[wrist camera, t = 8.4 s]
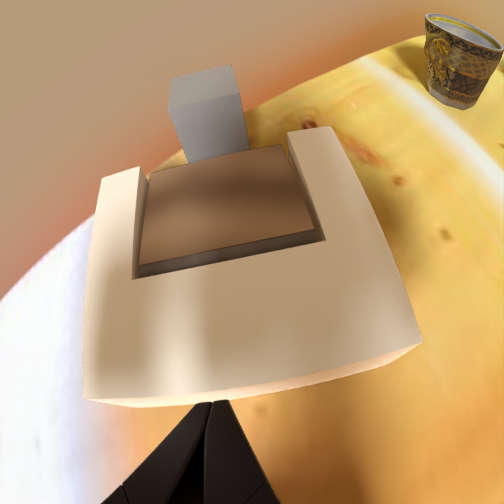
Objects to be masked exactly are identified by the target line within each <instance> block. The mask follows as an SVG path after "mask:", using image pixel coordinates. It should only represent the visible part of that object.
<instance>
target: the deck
mask: <svg viewBox="0 0 504 504" xmlns="http://www.w3.org/2000/svg"><path fill="white" fill-rule="evenodd" d="M287 138H288V153H289V164H290V166H291V169H292V171H293V174H294V176H295V179H296V181H297V184H298V187H299V189H300V192H301V194H302V197H303V200H304V202H305V205H306V208H307V210H308V213H309V216H310V218H311V221H312V224H313V227H314V230H315V232H316V236H317V243H312V244H307V245H302V246H297V247H292V248H287V249H283V250H278V251H273V252H268V253H263V254H258V255H253V256H248V257H243V258H239V259H234V260H229V261H224V262H219V263H214V264H209V265H204V266H199V267H194V268H189V269H184V270H179V271H174V272H169V273H165V274H160V275H155V276H150V277H145V278H140V276H139V271H138V269H139V259H140V249H141V241H142V233H143V225H144V218H145V211H146V204H147V197H148V191H149V185H150V184H149V182H148V180H147V178H146V176H145V175H144V173H143V171H142V169H141V167H140V166H139V167H135V168H132V169H129V170H126V171H122V172H119V173H116V174H113V175H110V176H107V177H104V178H102V181H101V186H100V191H99V196H98V202H97V207H96V212H95V218H94V224H93V231H92V237H91V244H90V252H89V260H88V269H87V279H86V290H85V303H84V321H83V395H84V399H88V400H93V401H99V402H104V403H110V404H116V405H123V406H130V407H137V408H140V407H160V406H175V405H187V404H197V403H199V402H207V401H211V402H213V401H216V400H223V399H228V400H231V399H238V398H245V397H251V396H257V395H263V394H269V393H274V392H280V391H285V390H290V389H295V388H300V387H304V386H309V385H313V384H318V383H322V382H326V381H330V380H334V379H338V378H342V377H346V376H350V375H353V374H357V373H361V372H364V371H368V370H371V369H374V368H378V367H381V366H384V365H387V364H389V363H391V362H392V361H394V360H396V359H397V358H399V357H400V356H402V355H403V354H405V353H407V352H408V351H410V350H411V349H413V348H414V347H416V346H417V345H419V344H420V343H422V342H423V340H422V337H421V333H420V330H419V327H418V324H417V321H416V318H415V315H414V312H413V309H412V306H411V303H410V300H409V297H408V294H407V291H406V289H405V286H404V283H403V280H402V278H401V275H400V272H399V270H398V267H397V265H396V262H395V259H394V257H393V254H392V252H391V249H390V247H389V245H388V242H387V240H386V237H385V235H384V233H383V230H382V228H381V226H380V223H379V221H378V219H377V217H376V214H375V212H374V210H373V208H372V206H371V203H370V201H369V199H368V197H367V195H366V193H365V191H364V189H363V187H362V184H361V182H360V180H359V178H358V176H357V174H356V172H355V170H354V168H353V166H352V164H351V163H350V161H349V159H348V157H347V155H346V153H345V151H344V149H343V147H342V145H341V144H340V142H339V140H338V138H337V136H336V134H335V133H334V131H333V129H332V127H331V126H325V127H318V128H311V129H304V130H298V131H291V132H287Z"/></svg>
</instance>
